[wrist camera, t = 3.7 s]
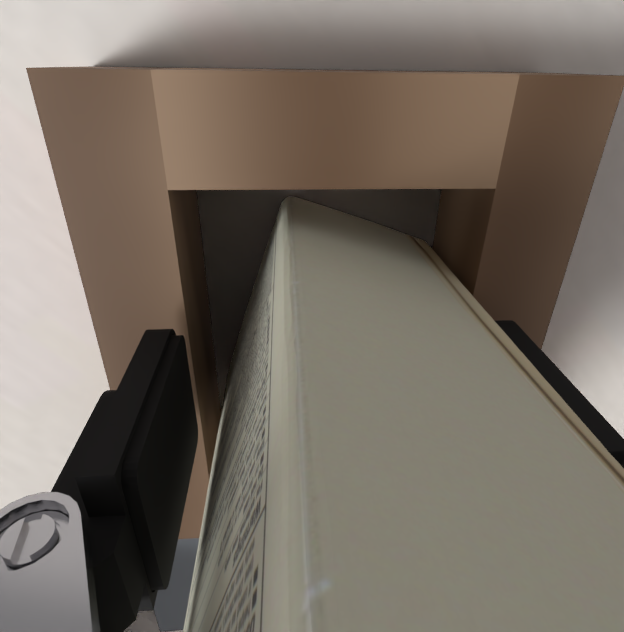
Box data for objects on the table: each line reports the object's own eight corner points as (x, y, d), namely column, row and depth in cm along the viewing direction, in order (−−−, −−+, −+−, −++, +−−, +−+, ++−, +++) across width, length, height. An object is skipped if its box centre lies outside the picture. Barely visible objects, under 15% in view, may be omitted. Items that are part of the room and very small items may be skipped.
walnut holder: (541, 72, 11) (626, 75, 8) (454, 450, 17) (486, 521, 14) (90, 66, 10) (26, 67, 7) (170, 463, 16) (150, 540, 13)
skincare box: (349, 401, 15) (514, 1157, 5) (219, 371, 14) (63, 1242, 4) (431, 231, 13) (1283, 1150, 2) (278, 180, 12) (307, 1468, 1)
